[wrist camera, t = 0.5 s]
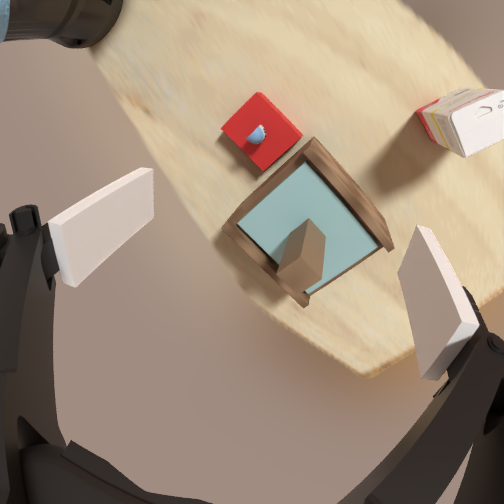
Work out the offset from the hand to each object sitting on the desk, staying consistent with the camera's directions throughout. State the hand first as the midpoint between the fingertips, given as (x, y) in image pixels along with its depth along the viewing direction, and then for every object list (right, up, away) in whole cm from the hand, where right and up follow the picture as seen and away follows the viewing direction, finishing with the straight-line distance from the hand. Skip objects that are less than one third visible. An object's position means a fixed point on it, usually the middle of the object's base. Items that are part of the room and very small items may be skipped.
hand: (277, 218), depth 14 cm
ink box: (+25, +17, +16) cm, 34 cm away
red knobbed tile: (+1, +15, +25) cm, 29 cm away
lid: (+6, +1, +22) cm, 23 cm away
